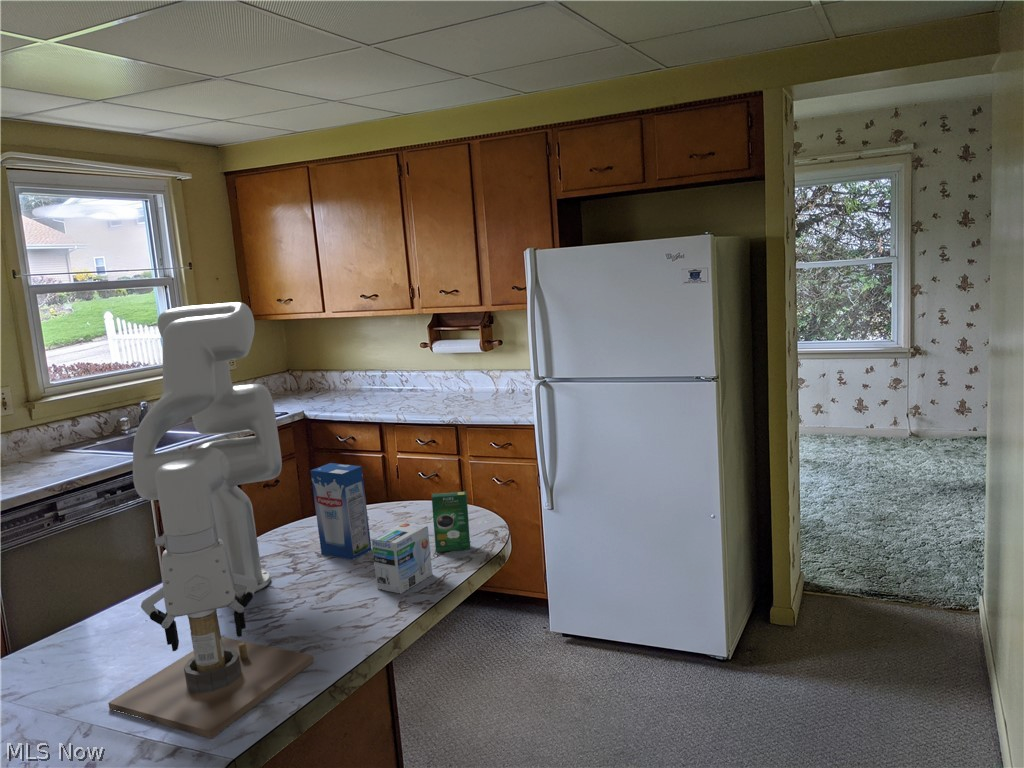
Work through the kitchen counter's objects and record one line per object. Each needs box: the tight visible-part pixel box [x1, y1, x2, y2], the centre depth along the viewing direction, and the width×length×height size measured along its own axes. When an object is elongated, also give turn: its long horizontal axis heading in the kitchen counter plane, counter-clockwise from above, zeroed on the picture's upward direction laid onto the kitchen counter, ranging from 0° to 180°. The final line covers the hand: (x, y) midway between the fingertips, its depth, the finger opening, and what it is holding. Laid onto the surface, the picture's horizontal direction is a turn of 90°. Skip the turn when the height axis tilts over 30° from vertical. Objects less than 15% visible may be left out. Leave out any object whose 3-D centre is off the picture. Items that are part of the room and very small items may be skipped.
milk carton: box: [309, 462, 373, 561], centre depth 178 cm, size 10×6×20 cm, turn 58°
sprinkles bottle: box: [186, 609, 226, 672], centre depth 125 cm, size 5×5×13 cm
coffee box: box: [431, 490, 471, 553], centre depth 175 cm, size 8×3×13 cm, turn 94°
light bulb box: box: [370, 521, 433, 595], centre depth 159 cm, size 11×7×11 cm, turn 148°
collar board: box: [108, 636, 314, 739], centre depth 126 cm, size 22×22×4 cm
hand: (208, 640), depth 125 cm, fingers open, 9 cm apart
